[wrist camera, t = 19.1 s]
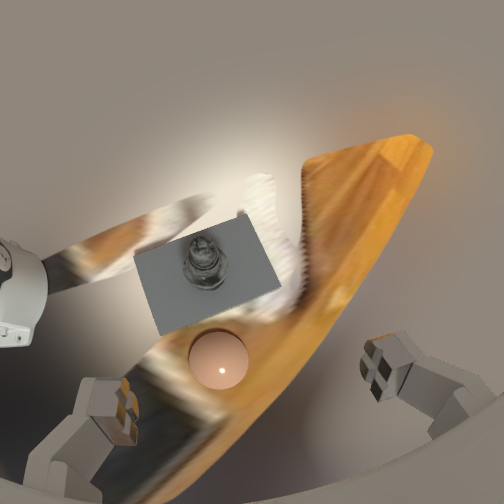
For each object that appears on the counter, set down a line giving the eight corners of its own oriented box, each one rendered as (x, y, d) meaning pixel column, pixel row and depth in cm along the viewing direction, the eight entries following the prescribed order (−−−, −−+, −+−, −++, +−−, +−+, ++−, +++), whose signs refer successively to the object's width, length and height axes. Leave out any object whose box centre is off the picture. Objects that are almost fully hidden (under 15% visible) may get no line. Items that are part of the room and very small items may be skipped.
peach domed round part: (204, 396, 36) (203, 397, 36) (181, 344, 39) (180, 344, 38) (257, 375, 38) (258, 375, 37) (233, 323, 40) (234, 322, 40)
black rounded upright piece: (200, 246, 42) (194, 205, 31) (235, 267, 41) (241, 232, 30) (177, 279, 40) (161, 249, 29) (213, 302, 39) (210, 280, 28)
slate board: (162, 336, 38) (160, 335, 37) (135, 259, 42) (133, 256, 40) (279, 288, 42) (281, 286, 41) (246, 218, 46) (246, 213, 44)
